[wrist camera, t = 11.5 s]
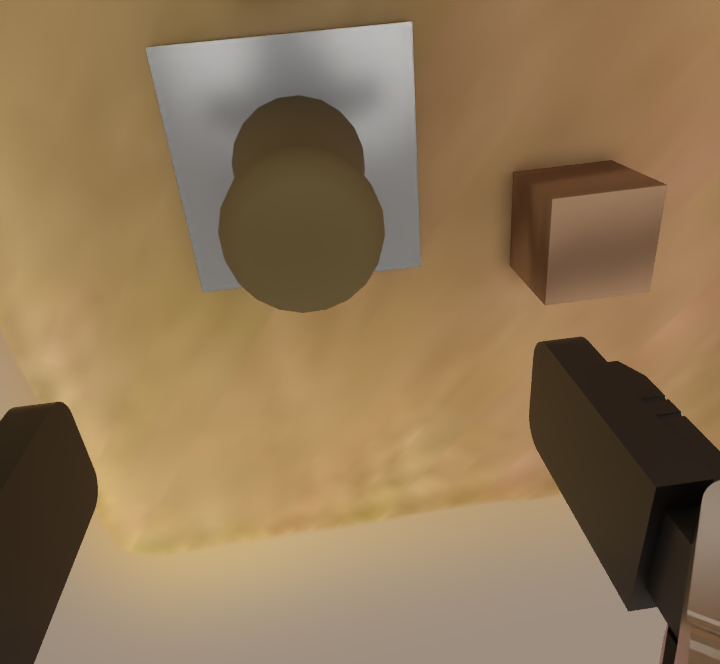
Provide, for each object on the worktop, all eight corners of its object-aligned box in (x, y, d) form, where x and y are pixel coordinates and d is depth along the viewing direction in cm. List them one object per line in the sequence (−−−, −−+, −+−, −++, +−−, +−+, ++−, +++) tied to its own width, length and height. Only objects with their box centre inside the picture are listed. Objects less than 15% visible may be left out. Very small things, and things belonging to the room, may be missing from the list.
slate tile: (150, 46, 24) (145, 47, 24) (407, 21, 25) (412, 21, 24) (205, 284, 30) (203, 292, 29) (417, 259, 30) (420, 266, 29)
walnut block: (512, 171, 29) (552, 199, 24) (610, 159, 29) (667, 185, 25) (509, 265, 31) (545, 305, 27) (599, 253, 31) (649, 291, 27)
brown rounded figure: (361, 231, 28) (397, 341, 19) (235, 228, 28) (204, 342, 18) (368, 98, 25) (416, 147, 16) (227, 91, 25) (187, 139, 15)
